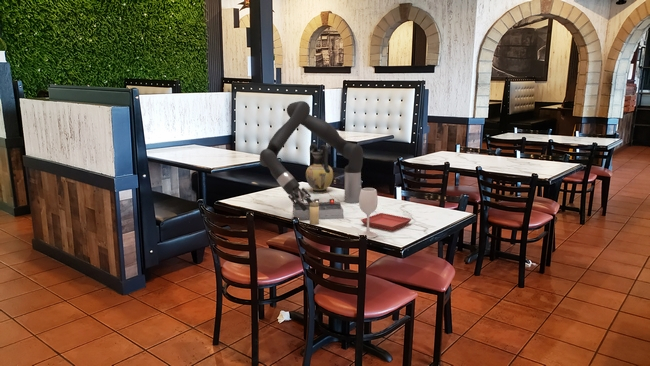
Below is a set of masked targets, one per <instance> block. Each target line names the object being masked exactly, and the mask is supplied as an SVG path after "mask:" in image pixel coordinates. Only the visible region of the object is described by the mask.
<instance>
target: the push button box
mask: <svg viewBox="0 0 650 366" xmlns="http://www.w3.org/2000/svg"><path fill="white" fill-rule="evenodd" d="M301 201H302V202H303V204H304V205H305V206H306V207H307V209H306V210H305V211H303V210H302V209H301V207H300V206H298V205H294V203H293V202H292V217H293V218H294V217H298V218H299V220H298V221H302V220H303V221H305V220H306V221H307V220H308V221H310V205H309V204H308V203H307V202H305V200H302V199H301ZM313 202H317V203H319V220H335V219H337V220H338V219H344V218H345V216H344V208H343V207H342V203H341V201H335V198H329V200H328V201H321V202H320V199H318V198H314V199H313Z"/></svg>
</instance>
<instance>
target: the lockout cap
mask: <svg viewBox="0 0 650 366" xmlns="http://www.w3.org/2000/svg"><path fill="white" fill-rule="evenodd" d="M309 224H310V225H314V226H315V225H319V224H320V219H319V203H317V202H314V201H313V202H312V203H310V220H309Z"/></svg>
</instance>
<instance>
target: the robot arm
mask: <svg viewBox="0 0 650 366" xmlns="http://www.w3.org/2000/svg"><path fill="white" fill-rule="evenodd" d="M310 113H311V107H310V105H309V103H308V102H307V101H303V100H300V101H294V102H291V103H289V104H288V105H287V107H286V114H287V115H288V117H289V119H288V120H287V121H286V122H284V124H282V126H281V127H280V128H279V129H278V130H277V131H276V132H275V133H274V134H273V136H272V138H271V139H270V140H269V142H268V144H267V147H266V148H265V149H262V150H261V152H260V154H259V163H260V165H261V166H262V167H264V168H266V167H267V168H268V169H269V171H270V174H271V176H272V177H273V178H274V179H275V180H276V182H277V183H278V185H279V186H280V187H281V188H282V190H283V191H285V193H286V194H287V195H288V198H289V200H290V201H291V202H292V204H293V203H294V205H298V206H300V207H301V209H302V210H303V211H305V210H306V209H307V207H306V206H305V205H304V204H303V202H302V201H301V200H304V202H306V203H308V204H309V205H310V203H312V202H314V200H312V199H311V197H312V195H311V194H310V193H309V191H307V190H306V189H305V187H302V188H300V186H301V185H300V183H299V182H298V180H296V178H295V177H294V176H293V175H292V174H291V173H290V172H289V171H288V170H287V169H286V168H285V166H284V165H283V164H282V163H281V161H280V160H279V158H278V155H279V153H280V152H281V150H282V149H283V147H284V146H285V144H286V143H287V142H288V140H289V139H290V137H291V136H292V135H293V134H294V132H295V131H296V130H297V128H299V126H300V125H301V126H303V127H305V128H306V129H307V130H309V131H310V132H311V133H312V134H313V135H315V136H317V137H318V138H319V140H321V141H323V142H324V143H326V144H328V145H329V146H331V147H332V148H334V150H336V151H337V152H338V153H339V154H340V155H341V156H342V157H343V158H345V159H347V160H348V164H347V165H346V166H345V167H344V202H345V203H347V204H357V203H359V197H360V192H361V189H362V184H361V183H362V182H361V181H362V178H361V177H362V175H361V174H362V168H363V163H364V161H363V159H364V150H363V146H361V145H360V144H358V143H352V142H349V141H347V140H346V139H345V138H343V137H342V136H341V135H340V133H339V132H338V131H337V128H335V127H334V126H333V125H332V124H330V123H329V122H327V121H325V120H323V119H320V118H318V117H316V116H313V115H311V114H310Z"/></svg>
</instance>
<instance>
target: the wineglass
mask: <svg viewBox="0 0 650 366" xmlns="http://www.w3.org/2000/svg"><path fill="white" fill-rule="evenodd" d="M358 203H359V204H358V206H359V209H360V210H361V212H362V213H364V214H365V215H366V218H367V226H366V230H365V231H361V232H359V233H358V235H357V236H359V235H367V239H372V238H376V237H378V234H377V232H374V231H370V227H369V217H370V216H371V214H373V213H374V212H376V209H377V208H378V191H377V189H375V188H373V187H364V188H361V192H360V197H359V202H358Z"/></svg>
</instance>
